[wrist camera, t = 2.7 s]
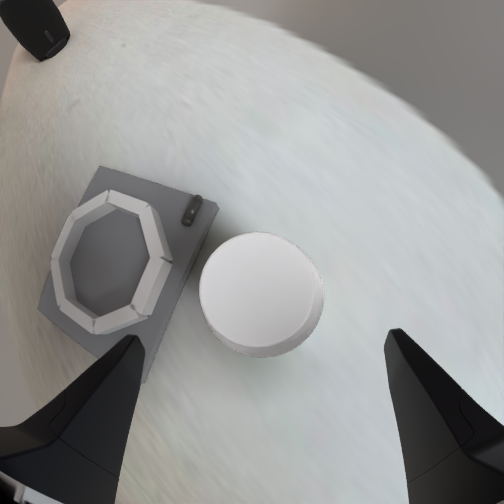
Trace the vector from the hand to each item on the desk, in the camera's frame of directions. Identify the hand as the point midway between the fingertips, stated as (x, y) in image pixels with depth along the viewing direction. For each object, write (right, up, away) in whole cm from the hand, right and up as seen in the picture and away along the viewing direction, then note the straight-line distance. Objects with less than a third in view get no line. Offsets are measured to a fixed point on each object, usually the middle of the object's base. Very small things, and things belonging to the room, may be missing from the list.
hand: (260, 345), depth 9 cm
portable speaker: (-38, +42, +24) cm, 61 cm away
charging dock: (-11, +2, +11) cm, 16 cm away
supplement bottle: (+1, 0, +10) cm, 10 cm away
